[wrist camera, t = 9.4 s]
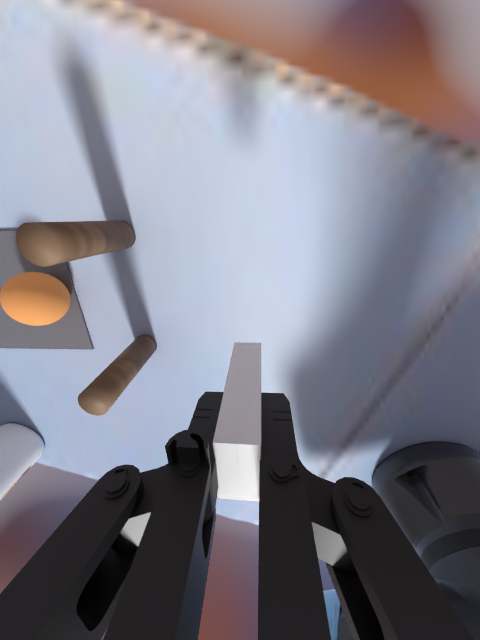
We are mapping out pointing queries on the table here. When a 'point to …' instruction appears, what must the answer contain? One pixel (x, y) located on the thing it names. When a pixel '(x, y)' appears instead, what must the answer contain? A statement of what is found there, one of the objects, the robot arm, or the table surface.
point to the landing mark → (67, 333)
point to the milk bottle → (17, 453)
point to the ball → (35, 298)
